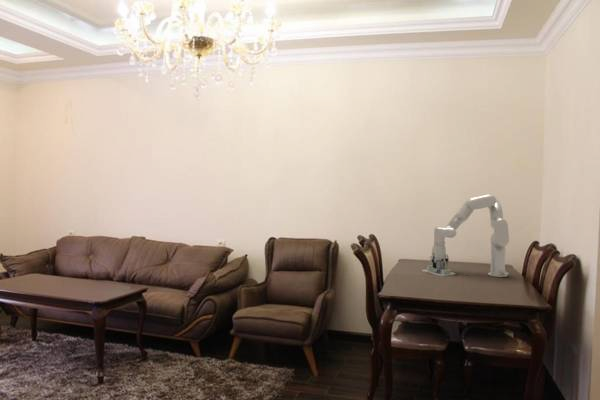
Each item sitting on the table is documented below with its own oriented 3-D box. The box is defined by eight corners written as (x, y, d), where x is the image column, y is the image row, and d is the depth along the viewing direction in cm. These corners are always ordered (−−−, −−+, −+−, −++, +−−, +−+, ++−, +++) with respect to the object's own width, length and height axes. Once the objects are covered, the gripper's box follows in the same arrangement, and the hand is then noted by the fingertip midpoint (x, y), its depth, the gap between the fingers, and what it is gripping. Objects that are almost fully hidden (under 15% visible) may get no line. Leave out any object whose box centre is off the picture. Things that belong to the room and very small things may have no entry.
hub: (445, 269, 340) (445, 261, 340) (437, 269, 338) (438, 261, 337) (439, 267, 347) (439, 259, 347) (431, 268, 344) (431, 260, 344)
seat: (455, 274, 336) (455, 267, 336) (439, 275, 330) (440, 268, 330) (437, 270, 354) (437, 262, 354) (422, 271, 349) (422, 263, 349)
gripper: (445, 242, 348) (444, 266, 349) (426, 243, 342) (425, 267, 342) (452, 244, 341) (451, 267, 342) (433, 244, 335) (432, 269, 335)
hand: (438, 267), depth 342 cm, fingers closed on hub, 7 cm apart
